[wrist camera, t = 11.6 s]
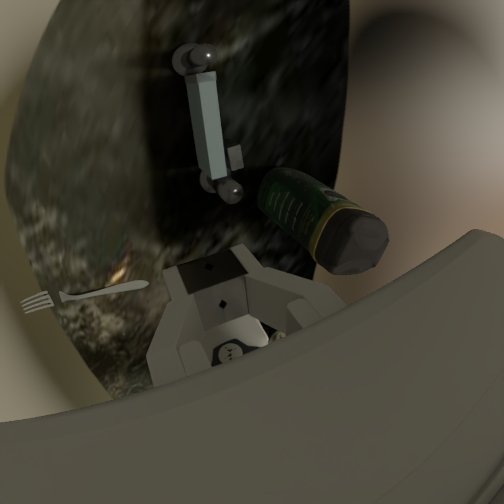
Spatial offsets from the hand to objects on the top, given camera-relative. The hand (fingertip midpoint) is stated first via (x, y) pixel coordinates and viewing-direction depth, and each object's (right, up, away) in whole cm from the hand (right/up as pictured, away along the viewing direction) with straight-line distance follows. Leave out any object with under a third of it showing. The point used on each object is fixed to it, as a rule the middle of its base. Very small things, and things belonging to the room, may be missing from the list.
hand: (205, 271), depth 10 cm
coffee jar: (+6, +10, +34) cm, 36 cm away
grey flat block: (-5, +17, +22) cm, 28 cm away
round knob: (-6, +23, +17) cm, 29 cm away
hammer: (-3, +12, +27) cm, 29 cm away
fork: (-23, -5, +28) cm, 36 cm away
